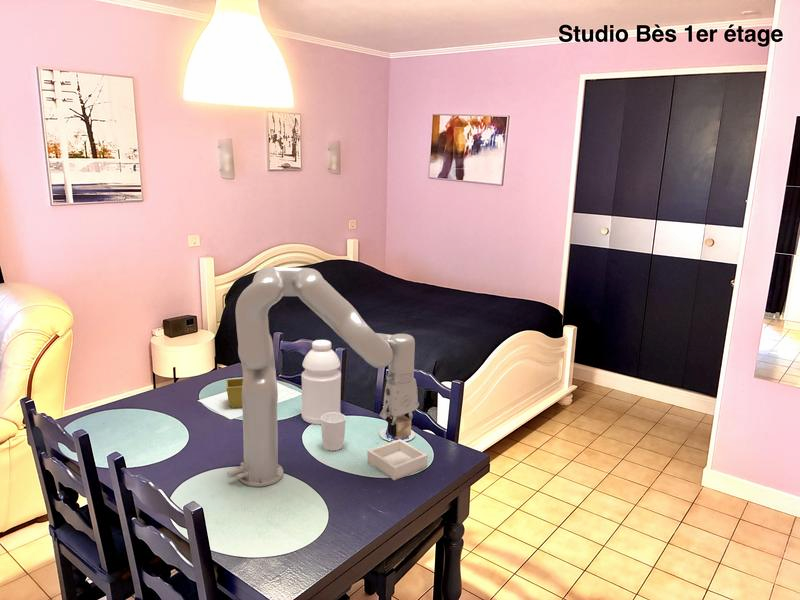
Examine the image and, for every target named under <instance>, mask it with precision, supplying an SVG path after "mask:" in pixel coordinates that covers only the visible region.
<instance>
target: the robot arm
mask: <svg viewBox="0 0 800 600" xmlns="http://www.w3.org/2000/svg"><path fill="white" fill-rule="evenodd" d="M283 297H298V298H299V300H301V302H302V303H304V304H305V305H306V306H307V307H308V308H309V309H310V310H311V311H312V312H314V313H315V314H316V315H317V316H318V317H319V318H320V319H321V320H323V322H324V323H325V324H327V326H329V327H330V328H331V329H332V330H333V331H334V333H336V335H338V336H339V337H340V338H341V339H342V340H343V341H344V342H345V343H346V344H348V346H350V348H351V349H352V350H353V351H354V352H355V353H357V354H358V356H360V357H361V358H362V359H363V360H364V361H365V362H366V363H368V365H370V366H371V367H373V368H376V369H383V368H386V367H388V368H387V369H388V370H387V371H388V373H387V375H385V380H386V383H385V388H384V395H383V408H382V410H381V411H380V413H379V417H380V418H382V419H383V420H384V421H385V422H386V423H387V427H388V434H389V435H391V436H393V437H396V424H395V421H396V417H397V416H400V415H404V416H406V417H408V418H410V419H411V420H412V419H413V418H414V414H415V413H416V410H417V409H418V408H419V406H420V403H419V401H418V400H419V399H418V397H419V395H418V386H417V380H416V378H415V377H414V372H415V351H416V350H415V347H416V342H415V338H414V336H412V335H411V334H408V333H395V334H387V333H378V332H376V331H374V330H373V329H372V328H371V327H370V326H369V325H368V324H367V323H366V322H365V320H364V319H363V318H362V317H361V314H359V312H358V311H357V309H356V308H355V307H354V306H353V305H352V304H351V303H350V302H349V301H348V300H347V299H346V298H344V297H343V296H342V295H341V294H340V293H339V292H338V291H337V290H336V289H335V288H334V287H333V286H332V285H331V284H330V283H328V281H327V280H325V279H324V277H323V275H322V274H321V272H319V271H318V270H317V269H315V268H310V267H285V266H283V267H282V266H281V267H279V266H277V267H276V266H269V267H267V266H266V267H262V268H261V269H259V270H257V272H256V273H255V274H254V276H253V279H252V282H251V283H250V284H249V285H248V286H247V287H246V288H244V289H243V291H242V292H241V294H240V295H239V296H238V298H237V300H236V303H235V304H236V305H235V322H236V334H237V343H238V345H237V353H238V358H239V360H240V363H241V370H242V371H241V372H242V378H243V383H242V407H241V408H242V429H243V432H242V434H243V437H242V438H243V439H242V441H243V461H242V462H240V466H238V467H237V468H236V469H231V470H229V471H227V476H228V478H229V479H232V478H234V477H235V478H236V480H239V481H240V482H241V483H242V484H244V485H246V486H249V487H256V488H258V487H259V488H260V487H266V486H271V485H273V484H276V483H277V482H280V480H281V479H283V476H284V468H283V467H282V465H280V464H279V463H278V462H279V458H278V457H279V455H278V452H279V451H278V446H279V444H278V441H279V439H278V435H279V434H278V431H279V430H278V400H279V398H278V397H279V396H278V395H279V394H278V391H279V390H278V381H277V372H276V371H277V370H276V363H275V354H274V345H273V344H274V343H273V338H272V335H271V334H270V327H269V323H270V322H269V315H268V314H269V312H270V311H269V310H270V309H271V307H272V306H273V305H275V304H277V303H278V302H279V301H280V300H281V299H282V298H283ZM391 417H392V419H391Z"/></svg>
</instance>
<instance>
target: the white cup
mask: <svg viewBox="0 0 800 600" xmlns="http://www.w3.org/2000/svg"><path fill="white" fill-rule="evenodd" d="M346 418H347V417H346V415H345V414H343V413H335V412H332V413H326V414H324V415H322V416H321V424H320V426H321V430H320V431H321V440H322V448H323V449H324V450H326V451H329V450H330V452H331V451H332V450H333V451H334V452H335V450H336V451H340V450H342V449H343V448H344V445H345V437H346V436H345V434H346V420H347V419H346ZM341 448H342V449H341ZM339 449H340V450H339ZM333 451H332V452H333Z"/></svg>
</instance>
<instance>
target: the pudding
mask: <svg viewBox="0 0 800 600" xmlns="http://www.w3.org/2000/svg"><path fill="white" fill-rule="evenodd" d="M385 430H386V433H385V434H386V435H385V436H387V437H388V439H389V438H391V439H393V440H394V441H396V440H399V439H397V438H395V437H393V436H391V435H389V434H388V426H386V427H384V428H382V429H381V430H380V431H379V436H380V437H381V438H382V439H383V440H386V441H388V442H393V441H391V439H390V440H388V439H386V438H385V437H383V434H382V433H383V432H384V431H385ZM415 437H416V434H415V431H414V430H413V429H411V435H409V436H406V437H403V438H401V440H404V442H408V441H411V440H413V439H414V438H415ZM408 438H409V439H408ZM406 439H407V440H406Z"/></svg>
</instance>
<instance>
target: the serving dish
mask: <svg viewBox="0 0 800 600" xmlns="http://www.w3.org/2000/svg"><path fill="white" fill-rule="evenodd" d="M428 456H429V455H428V454H426V453H425V452H424V451H421V450H419V449H418V448H416V447H415V446H413V445H411V444H409V443H407V441H405V442H404V441H403V440H401V439H399V440H394V441H393V442H392V441H389V442H388V443H385V444H382V445H380V446H377V447H374V448H371V449H368V450H367V461H366V462H368V463H367V464H368V465H370V464H371V465H370V466H371V467H373V466H374V467H373V468H375V469H376V470H377V471H379V470H380V471H379V472H381V473H382V472H383V474H384V475H385V476H386V477H389V478H390V479H391V480H393V481H396V480H398V479H402V478H404V477H406V476H409V475H412V474H414V473H416V472H419V471H421V470H423V469H426V468H428V460H429V459H428V458H429V457H428Z"/></svg>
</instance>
